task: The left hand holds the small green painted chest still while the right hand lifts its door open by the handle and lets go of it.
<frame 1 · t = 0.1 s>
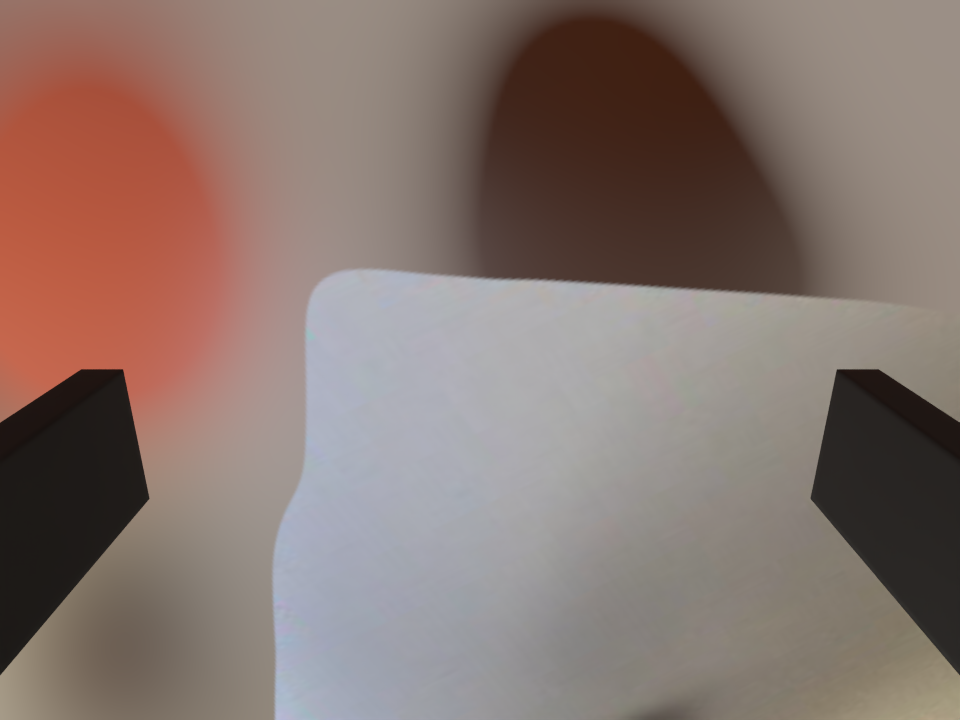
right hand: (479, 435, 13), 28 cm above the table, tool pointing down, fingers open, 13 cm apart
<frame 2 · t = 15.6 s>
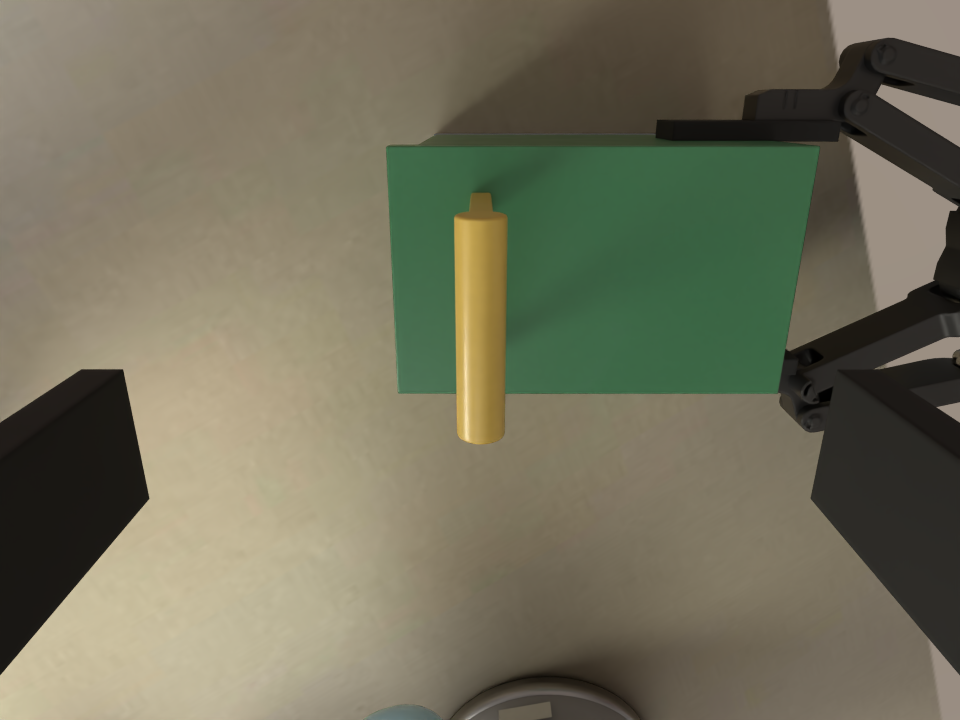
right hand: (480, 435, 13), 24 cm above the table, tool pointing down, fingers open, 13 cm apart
left hand: (653, 250, 29), fingers closed on chest, 9 cm apart
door: (609, 300, 21), point 14 cm above the table, hinge at 0.0°
chest: (570, 226, 35), on the table, touching left hand
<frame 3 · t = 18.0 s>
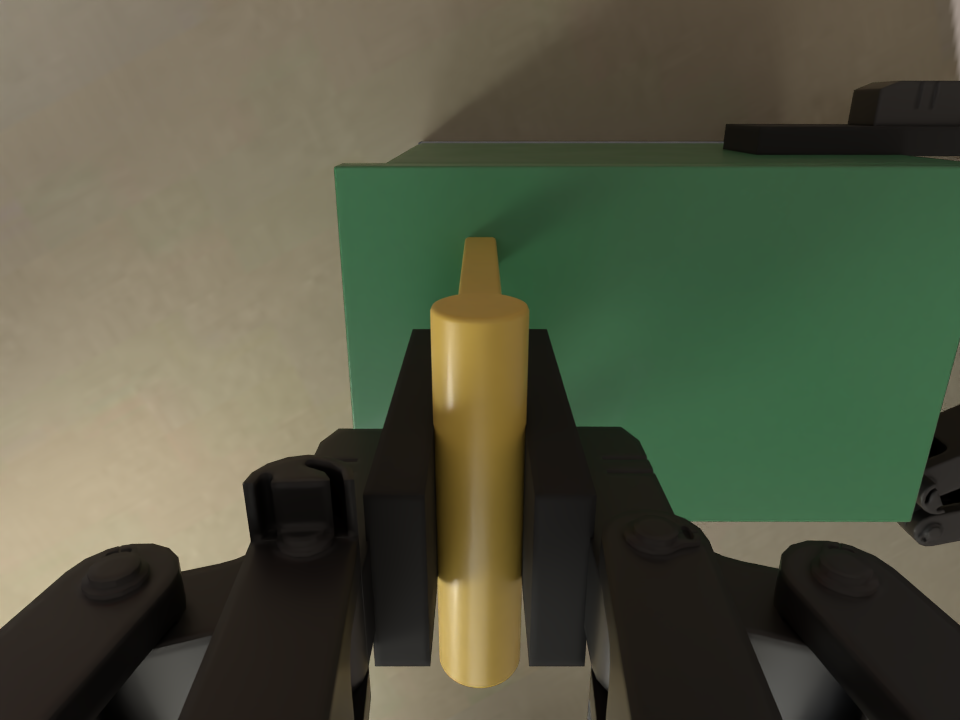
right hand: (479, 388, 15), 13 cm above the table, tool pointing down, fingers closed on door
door: (686, 415, 13), point 14 cm above the table, hinge at 0.0°, touching right hand
chest: (596, 262, 27), on the table, touching left hand
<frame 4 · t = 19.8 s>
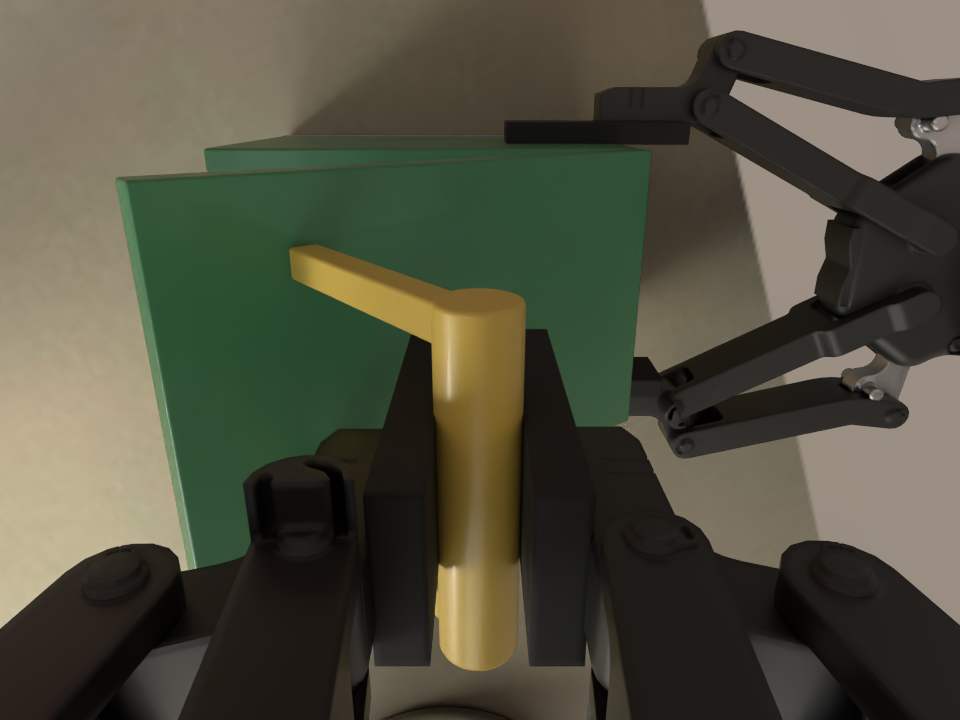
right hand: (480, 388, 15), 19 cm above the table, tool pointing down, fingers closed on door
left hand: (503, 262, 27), fingers closed on chest, 9 cm apart
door: (536, 373, 16), point 18 cm above the table, hinge at 37.8°, touching right hand
chest: (440, 234, 32), on the table, touching left hand
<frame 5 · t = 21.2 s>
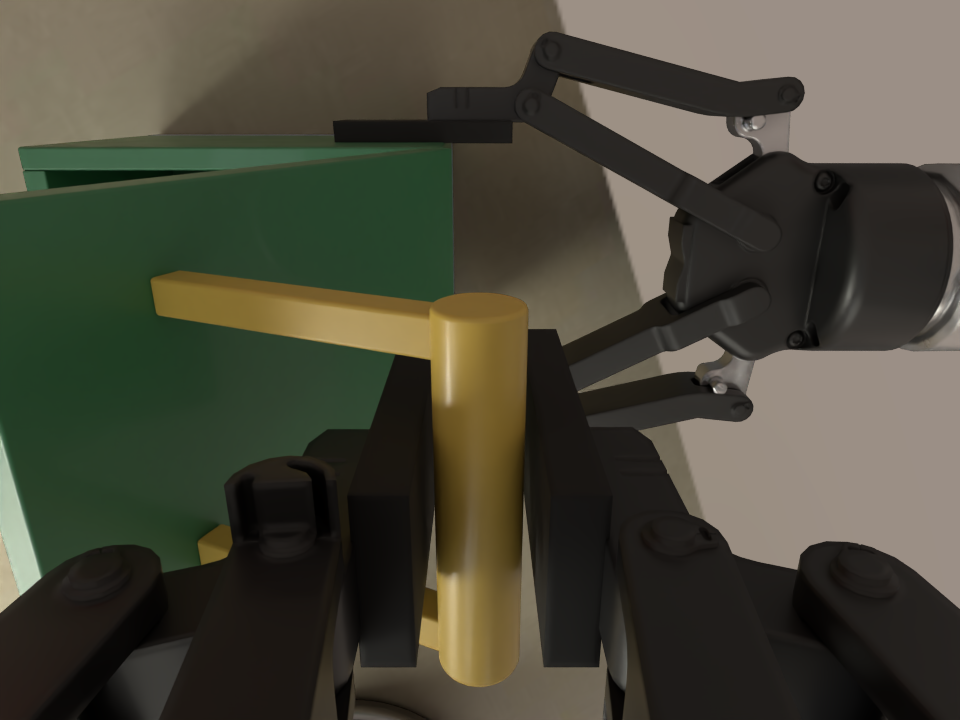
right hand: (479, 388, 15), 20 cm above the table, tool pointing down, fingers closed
left hand: (350, 258, 27), fingers closed on chest, 9 cm apart
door: (429, 377, 15), point 19 cm above the table, hinge at 65.6°
chest: (314, 232, 33), on the table, touching left hand
when the left hand's fingers open (6 cm above the table, at t = 25.3 s): chest stays where it is, on the table.
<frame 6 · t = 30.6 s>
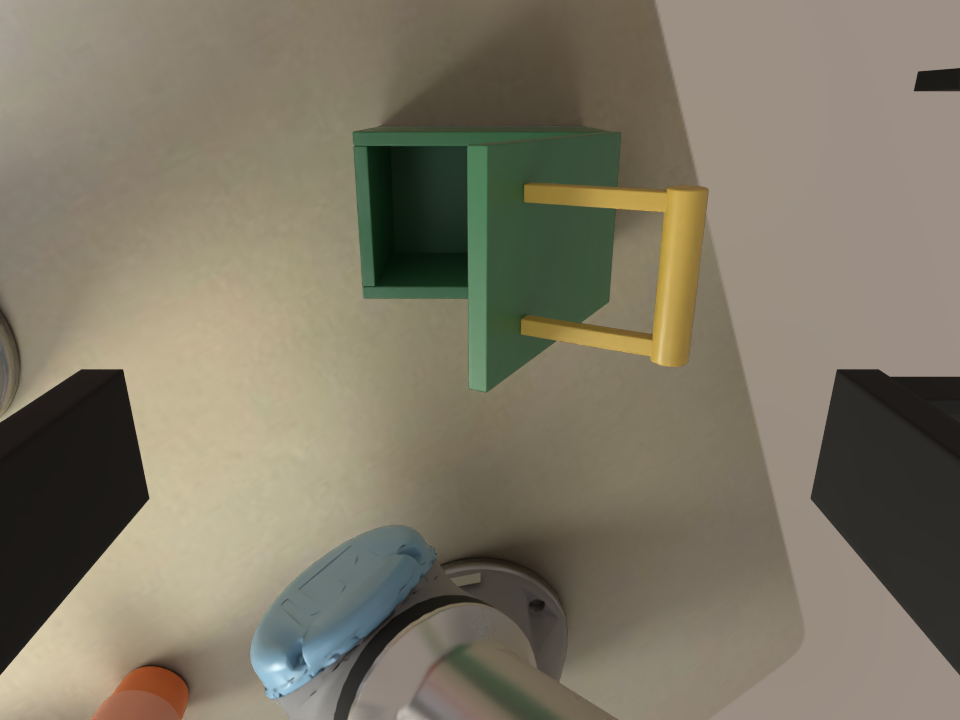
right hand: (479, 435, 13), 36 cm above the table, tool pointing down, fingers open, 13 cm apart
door: (628, 249, 29), point 19 cm above the table, hinge at 61.3°
chest: (481, 195, 47), on the table
cup with straw: (157, 688, 63), on the table
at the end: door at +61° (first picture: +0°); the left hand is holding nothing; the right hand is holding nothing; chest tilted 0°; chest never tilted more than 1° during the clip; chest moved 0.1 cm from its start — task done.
